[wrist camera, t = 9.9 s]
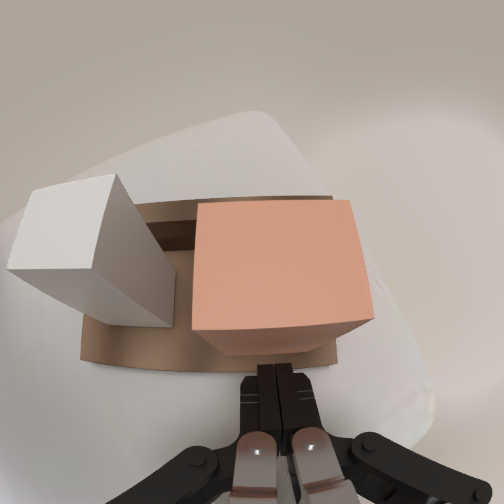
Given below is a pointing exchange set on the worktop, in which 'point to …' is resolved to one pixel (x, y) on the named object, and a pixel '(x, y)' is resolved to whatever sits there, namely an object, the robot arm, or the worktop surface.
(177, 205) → the console
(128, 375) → the worktop surface
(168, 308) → the grey rectangular block
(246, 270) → the orange tall block
